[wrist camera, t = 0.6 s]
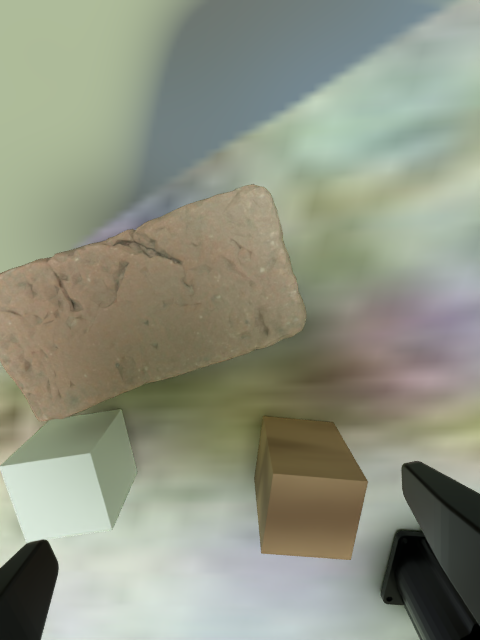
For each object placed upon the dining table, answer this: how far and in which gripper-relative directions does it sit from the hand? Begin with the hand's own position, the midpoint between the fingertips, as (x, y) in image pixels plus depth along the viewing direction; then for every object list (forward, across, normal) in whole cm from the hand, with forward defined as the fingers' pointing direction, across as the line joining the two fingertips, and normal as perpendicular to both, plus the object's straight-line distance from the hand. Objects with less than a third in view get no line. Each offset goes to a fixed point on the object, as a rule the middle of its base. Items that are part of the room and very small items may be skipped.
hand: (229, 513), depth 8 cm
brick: (+15, +3, -3) cm, 15 cm away
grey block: (+14, +10, +6) cm, 18 cm away
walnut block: (+13, -4, +9) cm, 16 cm away
